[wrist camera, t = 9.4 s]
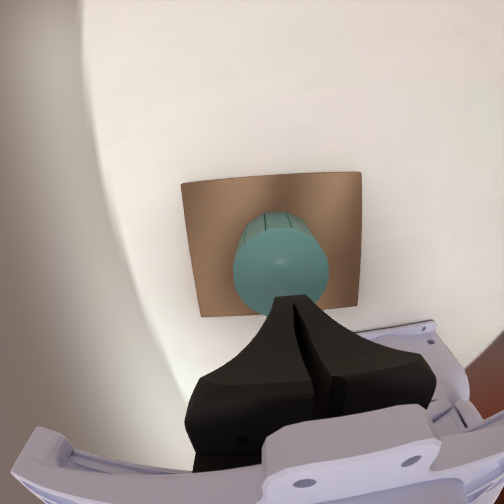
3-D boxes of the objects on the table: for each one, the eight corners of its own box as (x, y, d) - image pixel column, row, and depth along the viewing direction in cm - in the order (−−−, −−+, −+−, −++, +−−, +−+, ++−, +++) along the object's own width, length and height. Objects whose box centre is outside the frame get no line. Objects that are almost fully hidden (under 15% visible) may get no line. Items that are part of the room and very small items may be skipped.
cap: (313, 209, 19) (329, 226, 15) (314, 281, 21) (327, 313, 17) (235, 214, 19) (228, 233, 15) (242, 286, 21) (238, 320, 17)
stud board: (357, 171, 19) (377, 176, 16) (354, 301, 22) (368, 325, 19) (183, 183, 20) (168, 190, 16) (202, 311, 23) (194, 338, 20)
